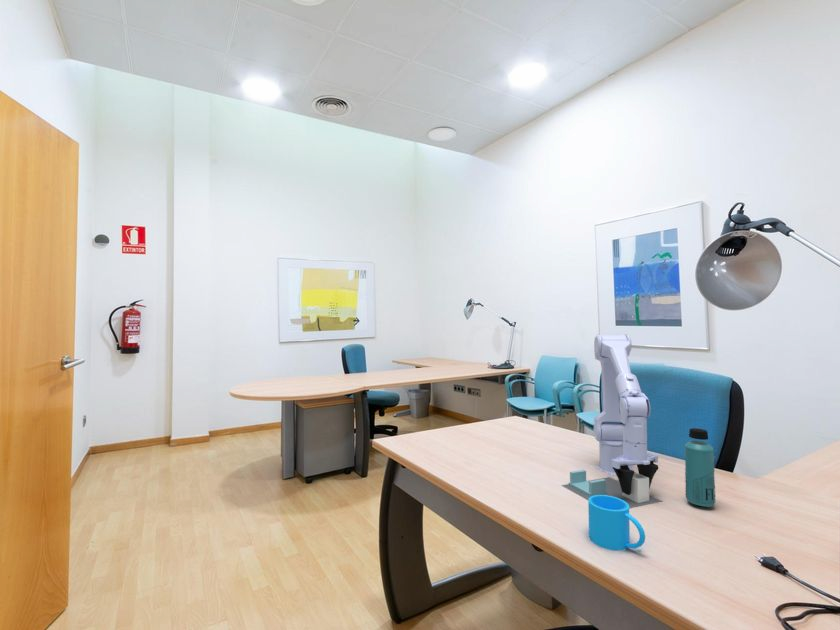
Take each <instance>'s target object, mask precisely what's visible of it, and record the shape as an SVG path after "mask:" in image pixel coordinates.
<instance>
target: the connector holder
mask: <svg viewBox="0 0 840 630" xmlns="http://www.w3.org/2000/svg"><path fill="white" fill-rule="evenodd" d="M599 479H600V480H595V479H593V480H594V481H590V480H587V470H585V469H580V470H574V471H573V470H572V471H569V482H568V484H569V486H571V487H573V488H575V489H576V490H578V491H580V492H582V493H584V494H586V495H587V496H589V497H591V496H595V495H604V494H608V491H607V490H606V480H604V479H601V478H599Z"/></svg>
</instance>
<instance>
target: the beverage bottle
mask: <svg viewBox="0 0 840 630" xmlns="http://www.w3.org/2000/svg"><path fill="white" fill-rule="evenodd" d="M688 430H689V432H688V437H689V438H690V439H694V440H689V441H688V442H686V443H685V444H684V455H685V456H684V462H685V465H684V467H685V468H684V471H685V472H684V476H685V477H684V479H685V484H684V486H685V487H684V490H685V498H686V500H687V501H688V502H689V503H691V504H693V505H696V506H701V507H707V508H711V507H714V506H715V505H716V501H717V500H716V492H717V491H716V481H715V478H716V477H715V461H714V457H715V456H714V452H715V451H714V450H715V449H714V447H713V446H712V445H711V444H709V443H708V442H705V440H708V439H709V435H708V434H709V433H708V430H706V429H703V428H696V427H695V428H694V427H693V428H689V429H688ZM700 440H701V441H700ZM702 440H704V441H702Z"/></svg>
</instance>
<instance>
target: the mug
mask: <svg viewBox="0 0 840 630" xmlns="http://www.w3.org/2000/svg"><path fill="white" fill-rule="evenodd" d="M587 501H588V504H587V505H588V506H587V507H588V538H589V540H590V541H591V542H592V543H593V544H594V545H595V546H597V547H600V548H603V549H606V550H610V551H625V550H627V549H637V548H640V547H642V546H643V545H644V544H645V542H646V541H645V540H646V533H645V530H644V528H643V526H642V524H641V523H640V522H639V520H637V519H636V518H635V517H634V516H633V515H631V514H630V508H629V505H628V503H627V502H625V501H624V500H621V499H619V498H616V497H613V496H608V495H595V496H591V497H590V498H589V500H587ZM630 521H631V522H632V523H633V525H634V526H635V527H636V528H637V531H638V534H639V538H638V539H639V540H638V541H637V542H635V543H631V540H630V538H631V536H630V534H631V533H630Z"/></svg>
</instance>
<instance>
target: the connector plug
mask: <svg viewBox="0 0 840 630" xmlns="http://www.w3.org/2000/svg"><path fill="white" fill-rule="evenodd" d="M622 495H623V496H625V497H627V498H629V499H631V500H633V501H635V502H637V503H641V502H646V501H649V495H650V489H649V478H648V477H646V476H643V475H641V474H639V472H638V473H637V472H636V471H635V473H634V475H633V478H632V483H631V494H630V495H627V494H625V493H623V492H622Z"/></svg>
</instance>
